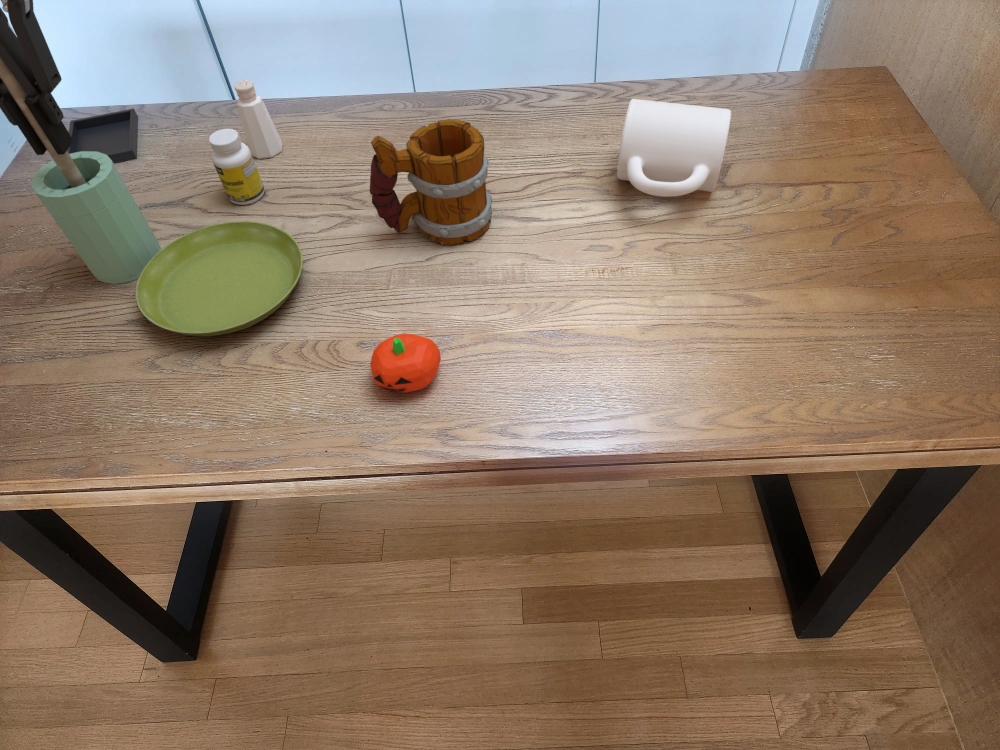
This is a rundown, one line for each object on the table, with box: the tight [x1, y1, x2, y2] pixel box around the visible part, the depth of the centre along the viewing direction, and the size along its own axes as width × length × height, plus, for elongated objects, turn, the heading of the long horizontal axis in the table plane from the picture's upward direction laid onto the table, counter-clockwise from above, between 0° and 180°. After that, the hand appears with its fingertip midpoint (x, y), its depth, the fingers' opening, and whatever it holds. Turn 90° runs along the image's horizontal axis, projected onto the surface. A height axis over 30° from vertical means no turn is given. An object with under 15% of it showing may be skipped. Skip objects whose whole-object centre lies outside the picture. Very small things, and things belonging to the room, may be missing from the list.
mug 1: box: [369, 119, 493, 246], centre depth 87 cm, size 11×16×15 cm, turn 108°
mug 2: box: [616, 98, 732, 198], centre depth 92 cm, size 16×14×11 cm
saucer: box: [135, 220, 304, 337], centre depth 85 cm, size 21×21×3 cm
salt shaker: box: [233, 79, 283, 160], centre depth 102 cm, size 5×5×11 cm
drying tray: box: [67, 108, 139, 165], centre depth 108 cm, size 13×10×2 cm
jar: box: [30, 151, 163, 285], centre depth 86 cm, size 9×9×14 cm
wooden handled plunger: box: [0, 58, 87, 188], centre depth 78 cm, size 5×5×24 cm
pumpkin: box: [370, 332, 442, 394], centre depth 74 cm, size 7×8×6 cm
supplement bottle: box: [208, 128, 265, 206], centre depth 95 cm, size 5×5×10 cm
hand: (55, 147), depth 77 cm, fingers closed on wooden handled plunger, 2 cm apart
